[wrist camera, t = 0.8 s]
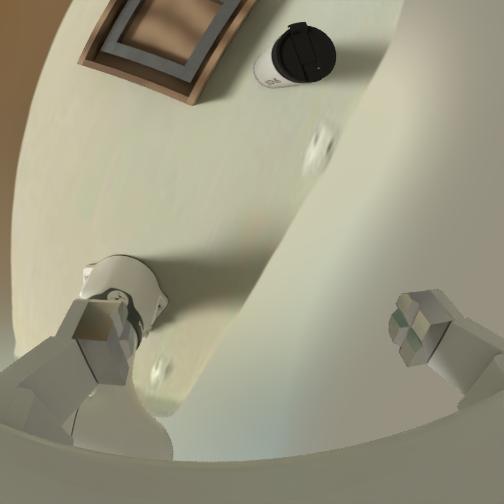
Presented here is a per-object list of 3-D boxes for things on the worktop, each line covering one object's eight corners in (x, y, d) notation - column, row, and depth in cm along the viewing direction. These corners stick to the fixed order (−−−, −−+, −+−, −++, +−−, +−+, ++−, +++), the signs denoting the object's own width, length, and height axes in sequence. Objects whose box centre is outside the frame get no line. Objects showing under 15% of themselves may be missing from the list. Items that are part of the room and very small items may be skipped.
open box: (194, 105, 42) (191, 106, 38) (89, 65, 36) (77, 63, 32) (261, -5, 34) (266, -15, 29) (153, -41, 28) (147, -53, 23)
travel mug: (284, 46, 39) (326, 16, 21) (298, 82, 42) (347, 75, 25) (247, 56, 39) (265, 29, 22) (261, 93, 42) (289, 90, 25)
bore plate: (191, 83, 40) (190, 82, 38) (104, 51, 35) (100, 50, 33) (241, 2, 34) (242, -2, 32) (153, -28, 29) (150, -33, 27)
